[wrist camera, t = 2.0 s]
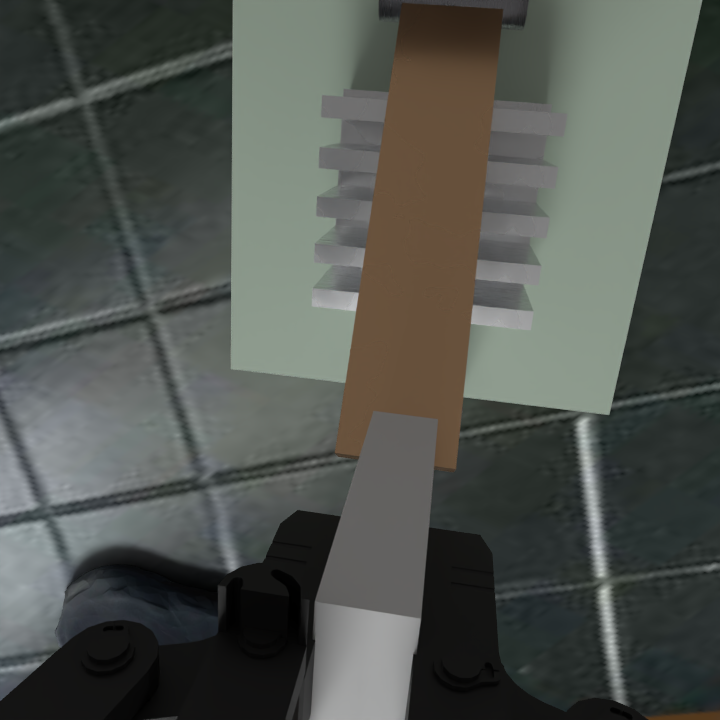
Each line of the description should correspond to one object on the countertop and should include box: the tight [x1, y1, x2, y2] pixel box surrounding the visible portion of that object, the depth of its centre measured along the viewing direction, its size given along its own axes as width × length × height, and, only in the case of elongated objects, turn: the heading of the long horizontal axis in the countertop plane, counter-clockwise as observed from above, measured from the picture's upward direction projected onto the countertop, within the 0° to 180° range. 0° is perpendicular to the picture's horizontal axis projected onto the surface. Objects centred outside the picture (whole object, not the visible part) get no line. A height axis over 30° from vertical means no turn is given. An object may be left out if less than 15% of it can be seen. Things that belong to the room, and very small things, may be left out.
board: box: [231, 0, 702, 425], centre depth 25 cm, size 18×18×10 cm
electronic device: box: [55, 564, 218, 648], centre depth 39 cm, size 9×6×15 cm
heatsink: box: [312, 89, 568, 330], centre depth 26 cm, size 8×8×6 cm
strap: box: [335, 0, 529, 472], centre depth 19 cm, size 4×15×1 cm
